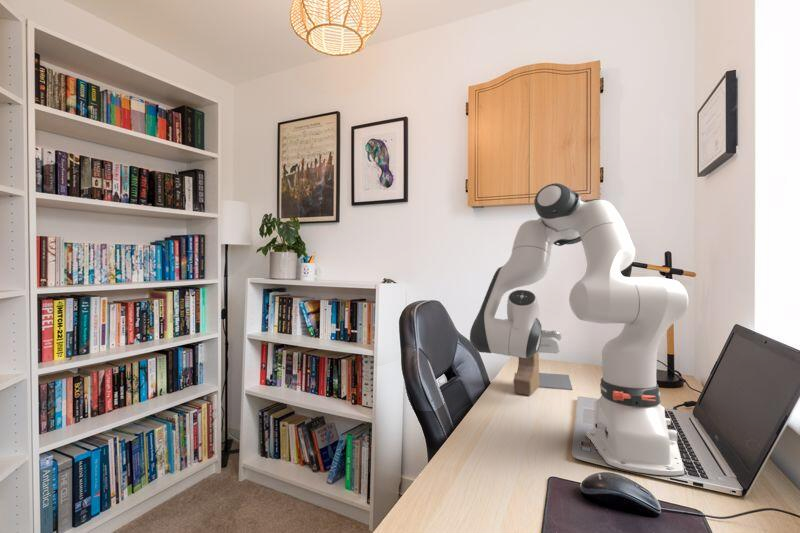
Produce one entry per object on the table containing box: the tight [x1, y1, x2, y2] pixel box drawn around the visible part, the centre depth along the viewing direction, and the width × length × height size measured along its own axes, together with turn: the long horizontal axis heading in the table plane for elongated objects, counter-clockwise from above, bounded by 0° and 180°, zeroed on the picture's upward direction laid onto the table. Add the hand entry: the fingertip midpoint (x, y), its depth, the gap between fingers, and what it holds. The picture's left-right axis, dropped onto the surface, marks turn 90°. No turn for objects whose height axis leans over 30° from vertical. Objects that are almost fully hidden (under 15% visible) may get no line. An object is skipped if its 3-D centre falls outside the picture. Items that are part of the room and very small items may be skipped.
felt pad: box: [514, 372, 573, 391], centre depth 143 cm, size 18×19×1 cm
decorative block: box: [513, 352, 540, 397], centre depth 131 cm, size 11×6×20 cm, turn 145°
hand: (525, 355), depth 126 cm, fingers closed
